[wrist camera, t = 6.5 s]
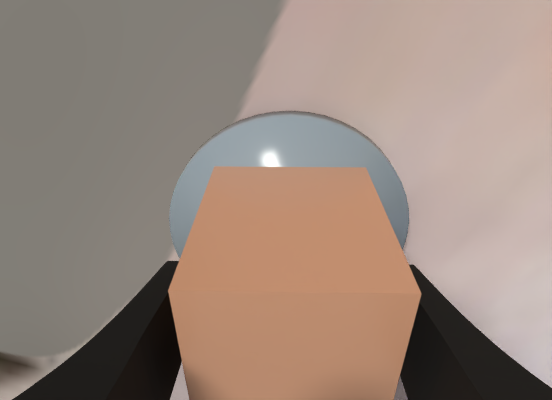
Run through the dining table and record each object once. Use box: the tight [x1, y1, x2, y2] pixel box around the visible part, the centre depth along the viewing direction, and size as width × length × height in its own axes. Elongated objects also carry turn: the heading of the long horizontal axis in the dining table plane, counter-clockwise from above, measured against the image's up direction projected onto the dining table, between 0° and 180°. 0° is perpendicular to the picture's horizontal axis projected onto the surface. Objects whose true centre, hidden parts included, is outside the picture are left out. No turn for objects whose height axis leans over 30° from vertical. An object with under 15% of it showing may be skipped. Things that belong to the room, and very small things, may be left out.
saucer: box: [169, 111, 409, 258], centre depth 15 cm, size 9×9×1 cm
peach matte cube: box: [168, 166, 421, 400], centre depth 12 cm, size 5×5×6 cm
